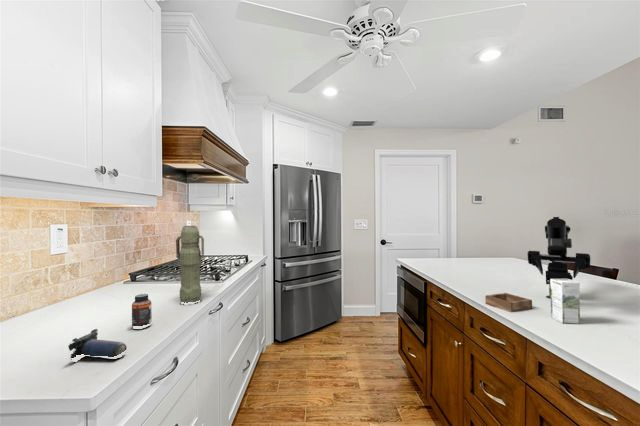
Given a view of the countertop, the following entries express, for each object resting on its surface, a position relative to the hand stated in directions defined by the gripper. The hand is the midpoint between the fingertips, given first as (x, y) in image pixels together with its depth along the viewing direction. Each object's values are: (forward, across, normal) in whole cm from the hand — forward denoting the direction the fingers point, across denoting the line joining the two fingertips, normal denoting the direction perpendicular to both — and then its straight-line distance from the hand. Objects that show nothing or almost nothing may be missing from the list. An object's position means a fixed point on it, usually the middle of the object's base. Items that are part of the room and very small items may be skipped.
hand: (557, 275), depth 107 cm
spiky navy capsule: (+99, -98, -66) cm, 154 cm away
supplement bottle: (+87, -114, -56) cm, 154 cm away
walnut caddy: (+10, -16, +11) cm, 22 cm away
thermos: (+68, -129, -40) cm, 152 cm away
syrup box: (+15, +2, +6) cm, 17 cm away
